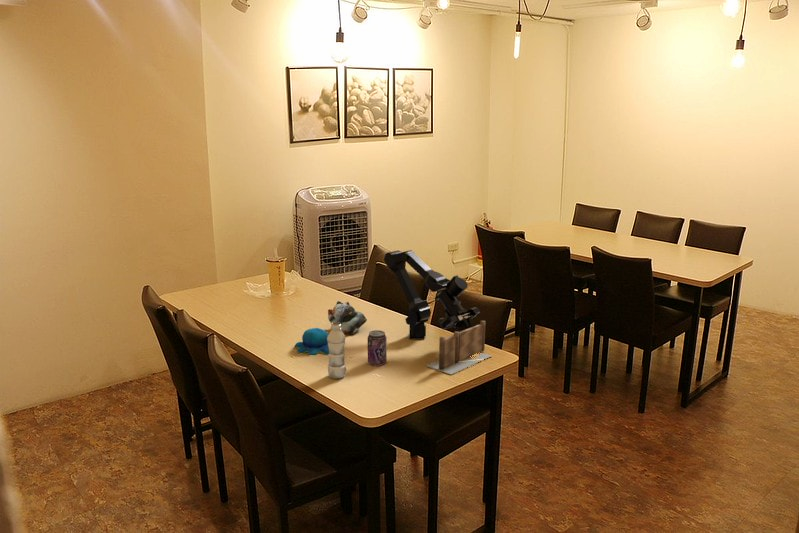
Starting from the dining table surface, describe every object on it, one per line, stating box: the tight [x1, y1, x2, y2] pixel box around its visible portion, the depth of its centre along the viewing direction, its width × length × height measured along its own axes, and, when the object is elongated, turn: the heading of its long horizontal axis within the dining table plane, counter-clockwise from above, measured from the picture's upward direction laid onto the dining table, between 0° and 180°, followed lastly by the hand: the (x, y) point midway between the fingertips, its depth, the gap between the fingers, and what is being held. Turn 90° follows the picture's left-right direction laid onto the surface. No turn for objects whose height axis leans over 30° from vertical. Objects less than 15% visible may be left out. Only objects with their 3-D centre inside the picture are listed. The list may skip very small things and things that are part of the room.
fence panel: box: [458, 320, 486, 361], centre depth 243 cm, size 16×2×12 cm, turn 137°
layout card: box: [426, 352, 492, 376], centre depth 240 cm, size 12×25×1 cm, turn 137°
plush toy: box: [294, 327, 329, 356], centre depth 253 cm, size 17×17×8 cm
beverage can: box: [367, 329, 387, 367], centre depth 237 cm, size 7×7×12 cm
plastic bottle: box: [327, 322, 347, 380], centre depth 223 cm, size 6×7×20 cm
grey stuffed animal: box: [327, 300, 368, 336], centre depth 273 cm, size 15×12×14 cm
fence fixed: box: [438, 330, 460, 370], centre depth 234 cm, size 10×2×12 cm, turn 136°
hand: (472, 336), depth 246 cm, fingers closed
